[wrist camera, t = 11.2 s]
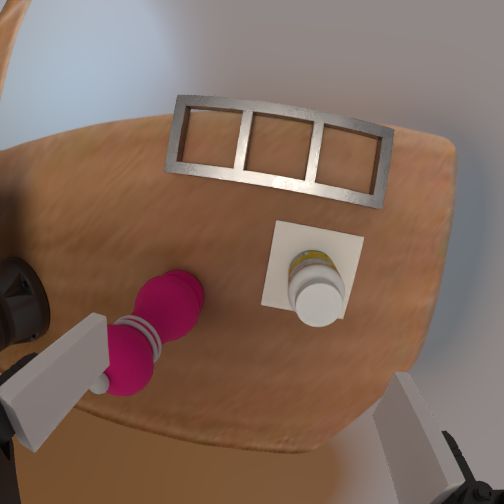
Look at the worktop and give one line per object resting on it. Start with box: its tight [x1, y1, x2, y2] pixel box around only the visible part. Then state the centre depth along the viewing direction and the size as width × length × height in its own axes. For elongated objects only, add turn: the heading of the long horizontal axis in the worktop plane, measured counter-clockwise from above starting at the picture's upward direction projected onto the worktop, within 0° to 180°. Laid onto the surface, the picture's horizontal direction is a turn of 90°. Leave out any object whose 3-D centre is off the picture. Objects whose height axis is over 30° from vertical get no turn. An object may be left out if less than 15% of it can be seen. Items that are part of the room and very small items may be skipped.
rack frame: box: [164, 95, 394, 210], centre depth 30 cm, size 24×9×2 cm, turn 81°
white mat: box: [261, 220, 364, 319], centre depth 34 cm, size 10×10×1 cm
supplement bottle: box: [288, 249, 345, 327], centre depth 29 cm, size 5×5×10 cm
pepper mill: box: [89, 270, 204, 396], centre depth 27 cm, size 7×7×20 cm
